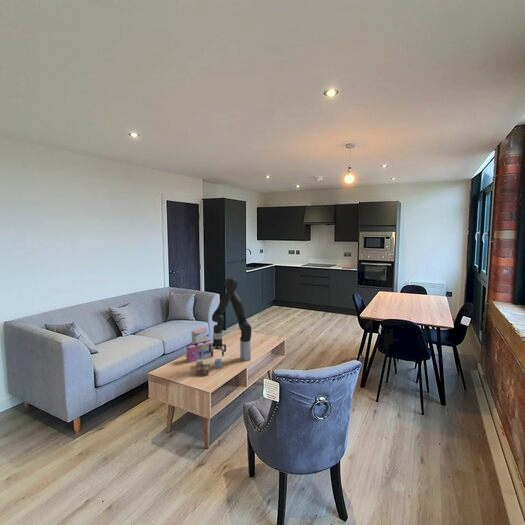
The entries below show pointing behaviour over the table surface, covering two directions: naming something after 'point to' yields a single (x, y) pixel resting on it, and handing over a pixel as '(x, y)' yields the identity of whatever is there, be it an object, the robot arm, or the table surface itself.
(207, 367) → the walnut block
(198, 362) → the sage cube
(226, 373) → the table surface
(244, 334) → the robot arm
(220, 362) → the blue block
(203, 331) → the cracker box
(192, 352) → the gum box
